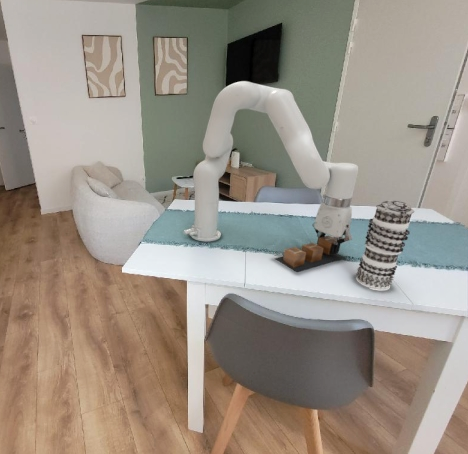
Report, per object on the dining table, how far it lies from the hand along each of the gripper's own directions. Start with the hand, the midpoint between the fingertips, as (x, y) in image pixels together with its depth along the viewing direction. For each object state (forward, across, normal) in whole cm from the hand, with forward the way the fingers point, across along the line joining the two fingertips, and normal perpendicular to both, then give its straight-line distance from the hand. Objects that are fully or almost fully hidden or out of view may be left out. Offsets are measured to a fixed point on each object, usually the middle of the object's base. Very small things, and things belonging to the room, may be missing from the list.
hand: (327, 249), depth 103 cm
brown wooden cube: (+2, 0, -15) cm, 15 cm away
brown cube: (+2, 0, -7) cm, 8 cm away
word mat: (+2, 0, -8) cm, 8 cm away
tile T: (0, 0, 0) cm, 0 cm away
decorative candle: (+2, +18, -3) cm, 18 cm away
